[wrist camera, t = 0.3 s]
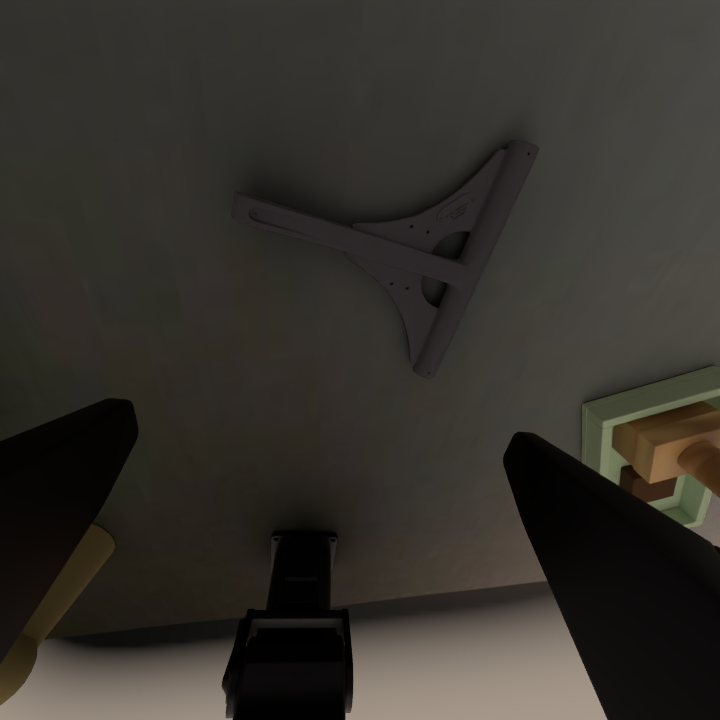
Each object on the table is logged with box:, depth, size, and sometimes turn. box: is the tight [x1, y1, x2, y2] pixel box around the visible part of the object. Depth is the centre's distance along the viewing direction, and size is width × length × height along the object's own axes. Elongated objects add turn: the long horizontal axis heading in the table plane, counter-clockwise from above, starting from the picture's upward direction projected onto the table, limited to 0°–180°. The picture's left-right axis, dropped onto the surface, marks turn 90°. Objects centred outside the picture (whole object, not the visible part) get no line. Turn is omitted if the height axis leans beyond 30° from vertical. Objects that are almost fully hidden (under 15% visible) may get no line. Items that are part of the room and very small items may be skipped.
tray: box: [581, 366, 720, 528], centre depth 29 cm, size 18×11×2 cm, turn 18°
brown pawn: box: [0, 524, 115, 705], centre depth 25 cm, size 6×6×11 cm
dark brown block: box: [619, 465, 678, 503], centre depth 30 cm, size 4×4×2 cm
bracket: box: [232, 140, 539, 379], centre depth 18 cm, size 14×15×3 cm
